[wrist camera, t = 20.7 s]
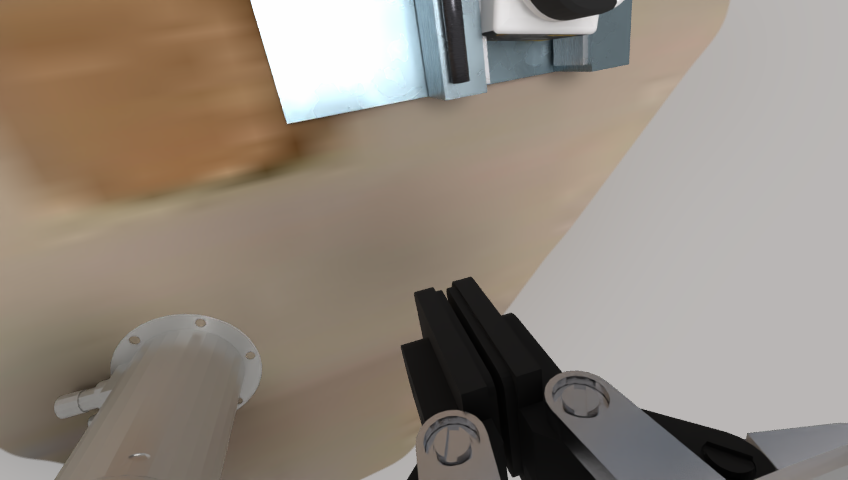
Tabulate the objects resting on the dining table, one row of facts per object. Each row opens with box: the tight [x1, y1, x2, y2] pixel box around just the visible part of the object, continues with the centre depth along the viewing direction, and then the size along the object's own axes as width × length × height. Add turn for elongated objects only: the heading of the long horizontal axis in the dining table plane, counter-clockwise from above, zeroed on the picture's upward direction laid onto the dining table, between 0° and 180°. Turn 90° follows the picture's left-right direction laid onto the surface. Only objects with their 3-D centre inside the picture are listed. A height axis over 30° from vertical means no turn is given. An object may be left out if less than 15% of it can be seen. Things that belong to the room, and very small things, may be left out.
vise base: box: [251, 0, 632, 124], centre depth 28 cm, size 25×12×6 cm, turn 99°
